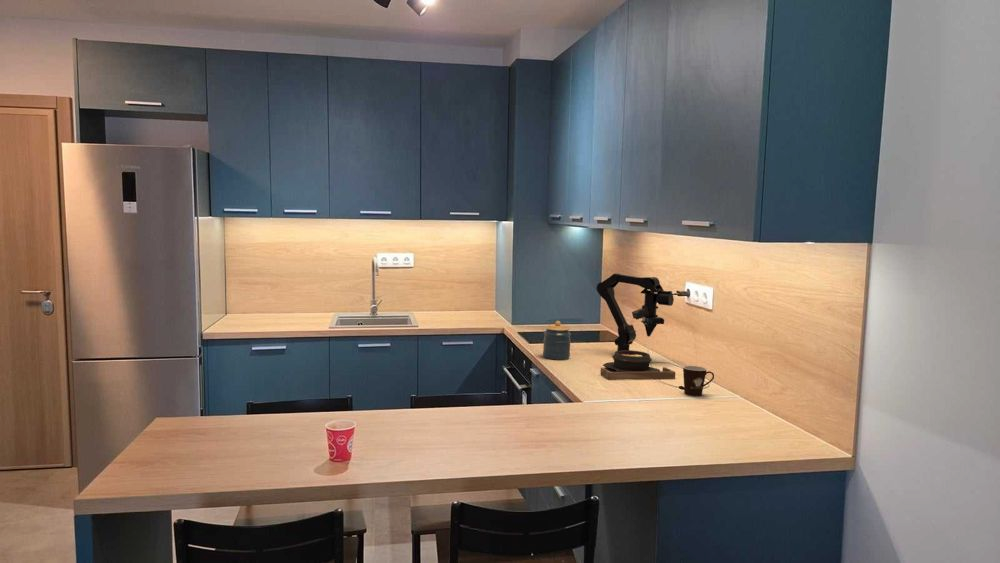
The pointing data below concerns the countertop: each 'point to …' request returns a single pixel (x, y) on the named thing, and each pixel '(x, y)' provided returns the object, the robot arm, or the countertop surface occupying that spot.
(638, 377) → the stop frame
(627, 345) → the robot arm
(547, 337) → the canister
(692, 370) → the coffee mug
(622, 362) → the casserole
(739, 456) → the countertop surface
